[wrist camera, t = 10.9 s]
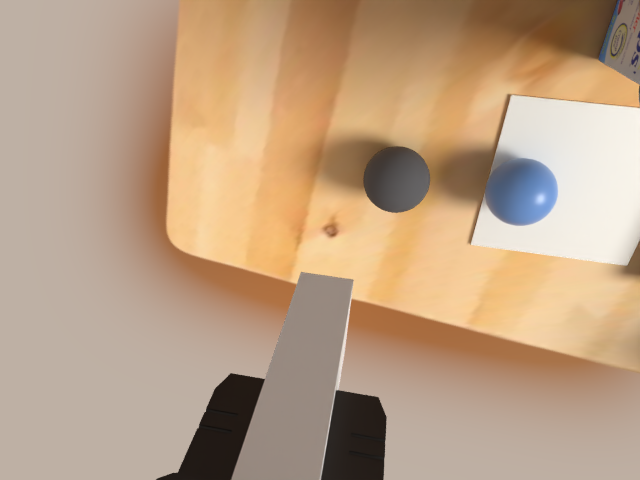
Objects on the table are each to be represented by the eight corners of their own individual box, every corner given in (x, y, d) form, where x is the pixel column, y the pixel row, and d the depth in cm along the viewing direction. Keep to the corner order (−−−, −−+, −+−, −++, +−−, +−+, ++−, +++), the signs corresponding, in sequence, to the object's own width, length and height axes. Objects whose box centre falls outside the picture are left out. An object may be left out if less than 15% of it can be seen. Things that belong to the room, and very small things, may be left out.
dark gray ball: (420, 170, 35) (446, 149, 39) (356, 148, 38) (387, 131, 42) (406, 232, 38) (431, 207, 42) (347, 209, 41) (376, 187, 45)
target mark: (511, 94, 38) (511, 95, 38) (700, 113, 36) (701, 114, 36) (470, 243, 45) (470, 244, 45) (626, 264, 44) (627, 265, 43)
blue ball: (504, 171, 35) (579, 177, 35) (486, 145, 40) (552, 150, 40) (486, 235, 38) (555, 241, 38) (471, 204, 43) (533, 209, 43)
